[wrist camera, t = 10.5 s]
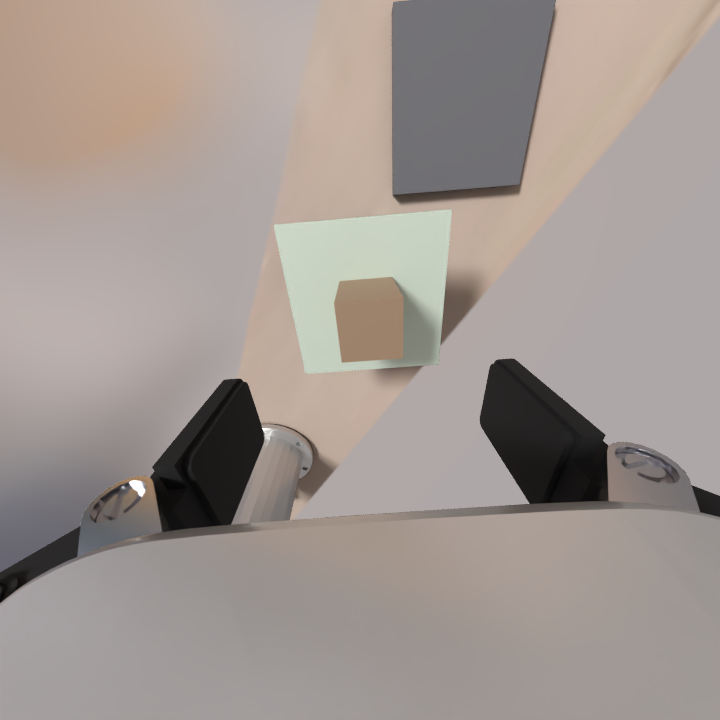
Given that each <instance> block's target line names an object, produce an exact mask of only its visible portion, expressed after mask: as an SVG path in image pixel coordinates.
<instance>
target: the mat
mask: <svg viewBox="0 0 720 720" xmlns="http://www.w3.org/2000/svg"><path fill="white" fill-rule="evenodd" d="M555 2H556V0H409V1H399V2H393V8H392V160H393V195H403V194H415V193H428V192H440V191H452V190H465V189H477V188H489V187H502V186H514V185H519V183H520V178H521V173H522V168H523V163H524V158H525V153H526V148H527V143H528V138H529V133H530V128H531V123H532V118H533V113H534V108H535V103H536V98H537V93H538V88H539V83H540V78H541V73H542V67H543V62H544V57H545V52H546V47H547V42H548V37H549V32H550V27H551V22H552V17H553V12H554V7H555Z"/></svg>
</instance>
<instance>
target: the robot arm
mask: <svg viewBox="0 0 720 720" xmlns="http://www.w3.org/2000/svg"><path fill="white" fill-rule="evenodd" d="M480 424H481V427H482V429H483V430H484V432H485V434H486V435H487V437H488V438H489V440H490V441H491V443H492V445H493V446H494V448H495V449H496V451H497V453H498V454H499V456H500V457H501V459H502V460H503V462H504V464H505V465H506V467H507V468H508V470H509V472H510V473H511V475H512V476H513V478H514V479H515V481H516V483H517V484H518V486H519V487H520V489H521V490H522V492H523V494H524V495H525V496H526V498H527V500H528V501H529V503H530V504H523V505H506V506H490V507H476V508H459V509H443V510H428V511H413V512H399V513H384V514H370V515H354V516H342V517H341V516H340V517H326V518H313V519H300V520H290V516H291V511H292V507H293V502H294V498H295V493H296V489H297V484H298V479H300V478H302V477H303V476H305V475H306V474H307V473H308V472H309V470H310V468H311V466H312V462H313V451H312V448H311V446H310V444H309V443H308V442H307V440H306V439H305V438H304V437H302V436H301V435H300V434H299V433H297V432H295V431H293V430H291V429H289V428H286V427H283V426H279V425H272V424H261V422H260V419H259V416H258V413H257V410H256V407H255V404H254V401H253V398H252V395H251V392H250V389H249V386H248V384H247V383H246V382H243V381H242V379H229V380H224V381H223V382H222V383H221V384H220V385H219V386H218V388H217V389H216V390H215V391H214V393H213V394H212V395H211V396H210V397H209V399H208V400H207V401H206V402H205V403H204V405H203V406H202V407H201V408H200V410H199V411H198V412H197V413H196V415H195V416H194V417H193V418H192V419H191V420H190V422H189V423H188V424H187V426H186V427H185V428H184V429H183V430H182V431H181V433H180V434H179V435H178V436H177V438H176V439H175V440H174V441H173V442H172V444H171V445H170V446H169V447H168V448H167V450H166V451H165V452H164V453H163V455H162V456H161V457H160V458H159V459H158V461H157V462H156V463H155V464H154V466H153V469H154V471H155V472H154V473H153V474H152V475H151V477H150V478H149V477H147V476H135V477H131V478H128V479H125V480H123V481H121V482H118V483H117V484H115V485H113V486H111V487H110V488H108V489H107V490H105V491H104V492H103V493H101V494H100V495H99V496H97V497H96V498H95V499H94V500H93V501H92V502H91V503H90V504H89V506H88V507H87V509H86V510H85V512H84V513H83V516H82V519H81V526H80V527H78V528H77V529H75V530H73V531H71V532H70V533H68V534H66V535H64V536H63V537H61V538H59V539H58V540H56V541H54V542H52V543H51V544H49V545H47V546H46V547H44V548H42V549H40V550H38V551H37V552H35V553H33V554H31V555H30V556H28V557H26V558H24V559H23V560H21V561H19V562H18V563H16V564H14V565H12V566H11V567H9V568H7V569H5V570H4V571H2V572H0V720H720V496H718V495H716V494H713V493H710V492H708V491H705V490H702V489H700V488H697V487H695V486H692V485H691V483H690V479H689V477H688V476H687V474H686V472H685V471H684V470H683V469H682V468H681V467H680V466H679V465H678V464H677V463H676V462H674V461H673V460H671V459H670V458H668V457H667V456H665V455H663V454H661V453H659V452H657V451H655V450H653V449H650V448H648V447H645V446H642V445H638V444H634V443H628V442H617V443H613V444H611V445H609V446H608V445H607V444H606V443H605V442H604V441H603V439H604V437H605V434H604V433H602V432H601V431H600V430H599V429H598V428H596V427H595V426H594V425H593V424H592V423H591V422H589V421H588V420H587V419H586V418H585V417H583V416H582V415H581V414H580V413H578V412H577V411H576V410H575V409H574V408H572V407H571V406H570V405H569V404H568V403H567V402H565V401H564V400H563V399H562V398H561V397H559V396H558V395H557V394H556V393H555V392H553V391H552V390H551V389H550V388H549V387H547V386H546V385H545V384H544V383H543V382H541V381H540V380H539V379H538V378H537V377H535V376H534V375H533V374H532V373H531V372H529V371H528V370H527V369H526V368H525V367H523V366H522V365H521V364H520V363H518V361H516V360H515V359H501V360H496V361H495V363H494V364H492V365H491V366H490V369H489V374H488V379H487V384H486V390H485V394H484V400H483V405H482V410H481V415H480Z"/></svg>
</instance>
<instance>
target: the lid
mask: <svg viewBox="0 0 720 720" xmlns="http://www.w3.org/2000/svg"><path fill="white" fill-rule="evenodd" d="M451 216H452V209H450V210H437V211H426V212H414V213H403V214H391V215H380V216H369V217H357V218H346V219H335V220H323V221H312V222H300V223H289V224H278V225H274V230H275V235H276V239H277V244H278V248H279V253H280V258H281V262H282V267H283V272H284V276H285V281H286V285H287V290H288V295H289V299H290V304H291V309H292V313H293V318H294V323H295V327H296V332H297V336H298V341H299V346H300V350H301V355H302V360H303V364H304V369H305V373H306V374H311V373H325V372H339V371H353V370H367V369H382V368H396V367H410V366H424V365H438V364H439V353H440V342H441V330H442V319H443V307H444V296H445V284H446V273H447V261H448V250H449V238H450V227H451Z"/></svg>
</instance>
